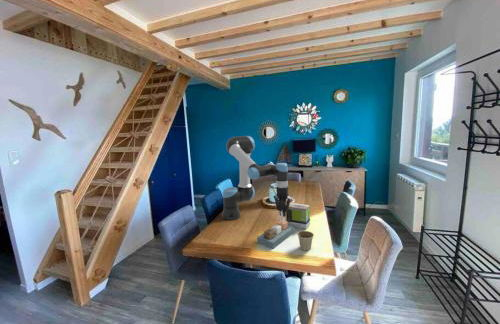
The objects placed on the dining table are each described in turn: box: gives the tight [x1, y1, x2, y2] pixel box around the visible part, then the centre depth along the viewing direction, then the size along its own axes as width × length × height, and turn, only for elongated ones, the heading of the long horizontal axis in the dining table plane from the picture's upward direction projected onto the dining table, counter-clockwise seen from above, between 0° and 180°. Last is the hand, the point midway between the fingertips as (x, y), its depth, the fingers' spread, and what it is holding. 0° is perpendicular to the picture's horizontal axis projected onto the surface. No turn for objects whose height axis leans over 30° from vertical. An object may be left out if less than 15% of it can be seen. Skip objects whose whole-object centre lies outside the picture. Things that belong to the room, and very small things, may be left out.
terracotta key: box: [277, 220, 288, 230], centre depth 159 cm, size 5×5×4 cm
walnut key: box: [263, 228, 275, 240], centre depth 147 cm, size 5×5×4 cm
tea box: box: [285, 202, 311, 230], centre depth 172 cm, size 15×10×15 cm, turn 59°
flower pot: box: [297, 230, 315, 251], centre depth 139 cm, size 9×9×9 cm
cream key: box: [270, 224, 282, 235], centre depth 153 cm, size 5×5×4 cm
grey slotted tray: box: [256, 223, 295, 250], centre depth 154 cm, size 12×26×4 cm, turn 141°
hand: (282, 220), depth 159 cm, fingers closed
